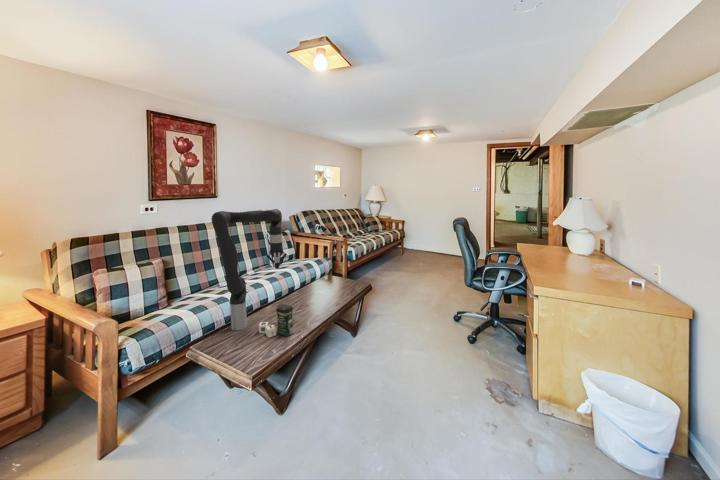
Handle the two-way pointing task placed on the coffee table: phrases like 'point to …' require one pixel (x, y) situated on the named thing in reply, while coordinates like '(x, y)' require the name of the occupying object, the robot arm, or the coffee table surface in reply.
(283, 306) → the coffee jar
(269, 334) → the marked block
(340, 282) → the coffee table surface
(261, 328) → the marked block
